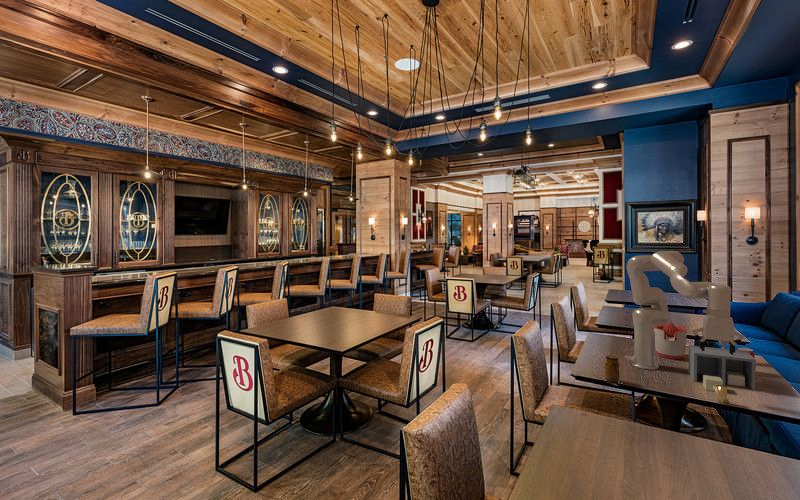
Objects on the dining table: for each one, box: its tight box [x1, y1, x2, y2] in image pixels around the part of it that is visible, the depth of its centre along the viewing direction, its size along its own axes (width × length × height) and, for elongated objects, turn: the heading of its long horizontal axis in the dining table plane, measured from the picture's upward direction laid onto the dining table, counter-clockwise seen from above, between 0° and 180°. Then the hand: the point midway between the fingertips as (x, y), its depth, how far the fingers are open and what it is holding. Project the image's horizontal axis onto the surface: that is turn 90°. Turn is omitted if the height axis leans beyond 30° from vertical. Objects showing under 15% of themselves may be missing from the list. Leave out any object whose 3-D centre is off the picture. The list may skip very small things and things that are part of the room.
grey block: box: [725, 371, 746, 388], centre depth 177 cm, size 6×6×5 cm
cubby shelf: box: [687, 344, 757, 391], centre depth 180 cm, size 22×14×14 cm, turn 61°
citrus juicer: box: [653, 322, 688, 360], centre depth 216 cm, size 16×17×20 cm
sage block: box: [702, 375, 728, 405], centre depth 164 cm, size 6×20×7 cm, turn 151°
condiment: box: [604, 354, 620, 386], centre depth 181 cm, size 7×8×12 cm
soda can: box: [737, 347, 756, 359], centre depth 191 cm, size 7×7×12 cm
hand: (716, 352), depth 162 cm, fingers open, 9 cm apart
